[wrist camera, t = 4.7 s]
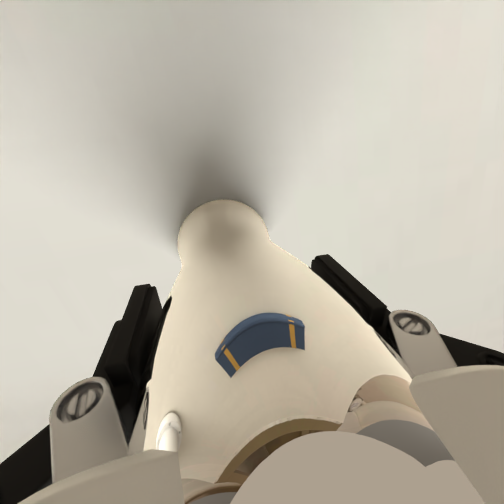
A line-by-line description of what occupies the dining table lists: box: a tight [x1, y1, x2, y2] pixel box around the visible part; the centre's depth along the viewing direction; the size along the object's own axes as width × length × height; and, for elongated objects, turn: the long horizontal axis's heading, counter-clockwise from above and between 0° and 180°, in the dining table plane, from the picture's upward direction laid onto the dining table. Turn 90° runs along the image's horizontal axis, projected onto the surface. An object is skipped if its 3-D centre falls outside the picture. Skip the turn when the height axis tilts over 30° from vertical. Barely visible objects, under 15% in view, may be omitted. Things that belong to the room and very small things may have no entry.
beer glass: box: [127, 199, 487, 504], centre depth 10 cm, size 7×7×15 cm
